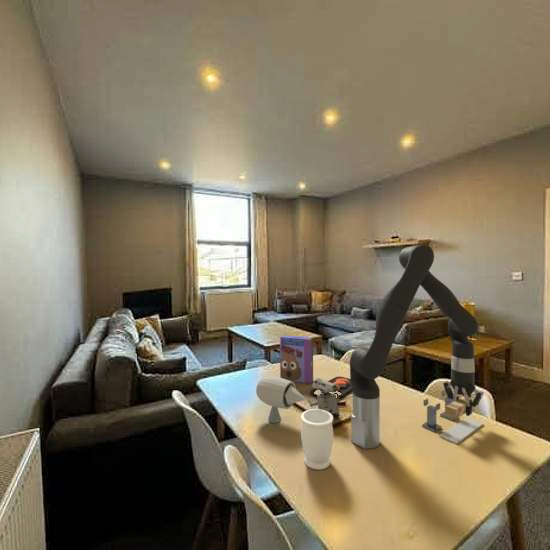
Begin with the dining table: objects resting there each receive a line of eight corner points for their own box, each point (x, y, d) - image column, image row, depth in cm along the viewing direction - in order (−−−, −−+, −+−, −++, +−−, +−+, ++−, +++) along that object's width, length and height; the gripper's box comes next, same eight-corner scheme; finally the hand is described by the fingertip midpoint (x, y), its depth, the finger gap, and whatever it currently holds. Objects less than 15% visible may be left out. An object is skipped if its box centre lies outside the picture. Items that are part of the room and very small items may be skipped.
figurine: (324, 408, 137) (324, 374, 136) (342, 419, 127) (342, 383, 126) (307, 413, 132) (307, 378, 131) (325, 425, 122) (324, 388, 122)
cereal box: (280, 379, 171) (279, 336, 170) (283, 376, 175) (283, 334, 174) (310, 384, 164) (310, 339, 163) (313, 381, 168) (312, 337, 168)
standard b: (453, 421, 124) (453, 396, 124) (439, 416, 128) (439, 392, 128) (458, 417, 127) (459, 393, 127) (445, 412, 131) (445, 389, 131)
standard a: (435, 432, 116) (435, 406, 116) (421, 426, 120) (421, 401, 120) (441, 428, 119) (442, 402, 119) (428, 422, 123) (428, 397, 123)
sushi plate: (337, 378, 173) (337, 372, 172) (391, 393, 153) (391, 385, 153) (307, 396, 151) (307, 388, 151) (366, 415, 131) (366, 406, 131)
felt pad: (456, 444, 108) (456, 442, 108) (439, 436, 113) (439, 435, 113) (483, 424, 121) (483, 423, 121) (466, 418, 126) (466, 417, 126)
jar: (333, 474, 93) (332, 426, 93) (299, 470, 96) (298, 422, 95) (333, 453, 104) (333, 409, 103) (303, 450, 106) (302, 407, 105)
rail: (455, 419, 110) (455, 409, 110) (445, 415, 113) (445, 406, 113) (478, 404, 121) (478, 395, 121) (468, 401, 124) (468, 392, 124)
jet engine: (272, 438, 113) (272, 391, 113) (252, 414, 131) (252, 374, 131) (307, 428, 120) (307, 384, 119) (283, 407, 138) (283, 368, 137)
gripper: (438, 365, 120) (438, 408, 121) (479, 375, 108) (479, 423, 109) (448, 361, 124) (447, 403, 125) (488, 371, 113) (487, 417, 113)
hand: (462, 412), depth 117 cm, fingers closed on rail, 3 cm apart
